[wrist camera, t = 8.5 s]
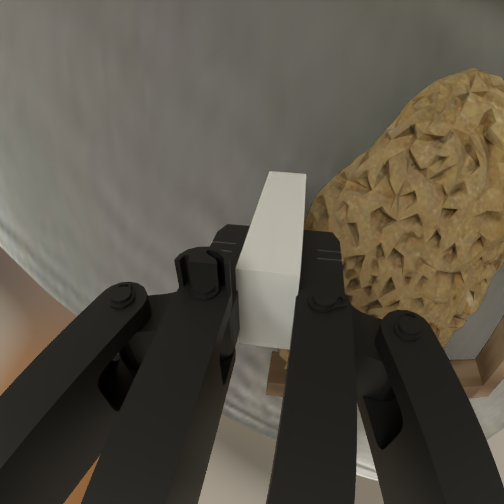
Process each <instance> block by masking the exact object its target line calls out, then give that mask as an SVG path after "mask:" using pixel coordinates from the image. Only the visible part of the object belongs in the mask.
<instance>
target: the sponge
mask: <svg viewBox="0 0 504 504" xmlns="http://www.w3.org/2000/svg"><path fill="white" fill-rule="evenodd" d="M303 230H313V231H324V232H333V233H334V235H335V236H336V237H337V238H338V240H339V241H340V248H341V257H342V267H343V277H344V288H345V294H346V295H347V296H348V297H349V300H350V303H351V304H352V305H353V307H355V308H356V309H358V310H359V311H361V312H363V313H365V314H367V315H370V316H373V317H376V318H379V319H383V317H384V316H386V315H387V314H388V313H389V312H392V311H395V310H408V311H411V312H415V313H417V314H418V315H420V316H421V317H423V318H424V319H425V320H426V321H427V322H428V323H429V325H430V326H431V328H432V329H433V331H434V333H435V335H436V337H437V338H438V340H439V342H440V344H441V346H442V348H443V347H444V346H445V345H446V344H447V342H448V341H449V339H450V338H451V336H452V334H453V333H454V332H455V331H456V330H457V329H459V328H462V326H463V325H464V324H465V322H466V321H467V320H464V319H465V318H466V317H467V316H468V315H470V314H472V313H473V312H475V311H477V309H478V308H479V306H480V304H481V303H482V301H483V299H484V296H485V292H486V290H487V288H488V286H489V284H490V281H491V279H492V277H493V276H494V275H495V273H496V272H497V271H498V269H499V268H500V267H501V266H502V265H503V263H504V80H503V79H502V78H501V77H499V76H495V75H492V74H487V73H485V72H482V71H480V70H477V69H475V68H471V69H468V70H465V71H462V72H459V73H455V74H452V75H449V76H447V77H444V78H441V79H438V80H436V81H435V82H433V83H432V84H430V85H429V86H428V87H426V88H425V89H423V90H422V91H421V92H420V93H419V94H418V95H416V96H415V97H414V98H413V99H412V100H409V101H408V102H407V104H406V105H405V107H404V108H403V109H402V111H401V112H400V114H399V116H398V117H397V118H396V119H395V121H394V122H393V123H392V124H391V125H390V126H389V127H388V128H387V129H386V130H385V132H384V133H383V134H382V135H381V136H380V137H379V138H378V139H377V141H376V142H375V143H374V144H373V145H372V146H371V147H370V149H369V150H367V151H366V152H364V153H363V154H362V155H360V156H359V157H357V158H356V159H355V160H354V161H353V162H352V163H351V164H350V165H349V166H347V167H346V168H344V169H342V170H341V171H340V172H339V173H338V174H337V175H336V176H335V177H334V178H332V179H331V180H330V181H329V182H328V183H327V184H326V185H325V186H324V187H323V188H322V189H321V190H320V192H319V193H318V195H317V196H316V197H315V199H314V200H313V203H312V205H311V208H310V210H309V213H308V215H307V218H306V220H305V222H304V227H303ZM278 349H279V355H280V356H281V357H282V358H283V359H284V360H285V361H286V363H287V364H286V366H285V368H284V369H287V365H288V357H289V349H280V348H278Z"/></svg>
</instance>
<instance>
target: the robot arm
mask: <svg viewBox="0 0 504 504" xmlns="http://www.w3.org/2000/svg"><path fill="white" fill-rule="evenodd" d="M305 190H306V174H300V173H287V172H273V171H269V174H268V177H267V180H266V183H265V185H264V188H263V191H262V194H261V197H260V200H259V202H258V205H257V208H256V211H255V214H254V217H253V220H252V222H251V225H250V226H243V225H230V224H227V225H226V226H224V227H223V228H222V229H220V230H219V231H218V232H217V234H216V236H215V238H214V240H213V242H212V244H211V246H210V247H196V248H192V249H188V250H186V251H184V252H183V253H181V254H179V255H178V256H177V258H176V259H175V266H176V272H177V277H178V283H179V288H178V290H177V292H174V293H169V294H161V295H151V296H148V295H147V292H146V290H145V288H144V287H143V286H141V285H140V284H138V283H133V282H122V283H118V284H115V285H113V286H111V287H109V288H108V289H106V290H105V291H104V292H103V293H102V294H100V295H99V296H98V297H97V298H96V299H95V300H94V301H93V302H92V303H91V304H90V305H89V306H88V307H87V308H86V309H85V310H84V311H82V312H81V313H80V314H79V315H78V316H77V317H76V318H75V319H74V320H73V321H72V322H71V323H70V324H69V325H68V326H67V327H66V328H65V329H64V330H63V331H62V332H61V333H60V334H59V335H58V336H57V337H56V338H55V339H54V340H53V341H52V342H51V343H50V344H49V345H48V346H47V347H46V348H45V349H44V350H43V351H42V352H41V353H40V354H39V355H38V356H37V357H36V358H35V359H34V360H33V361H32V363H30V365H29V366H28V367H27V368H26V369H25V370H24V371H23V372H22V373H21V374H20V375H19V376H18V377H17V378H16V379H15V381H14V382H13V383H12V384H11V385H10V386H9V387H8V388H7V389H6V390H5V392H4V393H3V394H2V395H1V396H0V504H63V503H64V502H65V501H66V499H67V498H68V497H69V495H70V494H71V492H72V491H73V490H74V489H75V487H76V486H77V485H78V483H79V482H80V480H81V479H82V478H83V477H84V475H85V474H86V473H87V471H88V470H89V469H90V467H91V466H92V465H93V463H94V462H95V461H96V460H97V458H98V457H99V456H100V457H99V460H98V462H97V465H96V467H95V470H94V472H93V474H92V477H91V480H90V482H89V485H88V487H87V490H86V492H85V495H84V497H83V500H82V502H81V504H198V500H199V496H200V493H201V489H202V485H203V482H204V478H205V474H206V470H207V467H208V463H209V459H210V455H211V451H212V447H213V444H214V440H215V436H216V432H217V429H218V425H219V421H220V417H221V413H222V409H223V406H224V402H225V398H226V394H227V390H228V386H229V382H230V378H231V375H232V371H233V367H234V363H235V345H236V341H237V338H238V335H239V344H246V345H254V346H262V347H271V348H280V349H289V357H288V365H287V371H286V378H285V387H284V395H283V402H282V409H281V416H280V423H279V429H278V436H277V442H276V449H275V455H274V461H273V468H272V473H271V479H270V485H269V490H268V495H267V501H266V504H354V500H355V482H356V454H357V404H358V407H359V411H360V414H361V417H362V421H363V424H364V428H365V431H366V435H367V439H368V442H369V446H370V450H371V453H372V457H373V461H374V465H375V468H376V472H377V476H378V480H379V484H380V488H381V492H382V496H383V500H384V504H504V487H503V484H502V481H501V478H500V475H499V472H498V470H497V467H496V464H495V461H494V458H493V456H492V453H491V451H490V448H489V446H488V443H487V440H486V438H485V436H484V433H483V431H482V428H481V426H480V424H479V421H478V419H477V417H476V415H475V412H474V410H473V408H472V406H471V404H470V401H469V399H468V397H467V395H466V393H465V391H464V389H463V387H462V385H461V382H460V380H459V378H458V376H457V374H456V372H455V370H454V369H453V367H452V365H451V363H450V361H449V359H448V357H447V355H446V353H445V351H444V349H443V348H442V346H441V344H440V342H439V340H438V338H437V337H436V335H435V333H434V331H433V329H432V328H431V326H430V325H429V323H428V322H427V321H426V320H425V319H424V318H423V317H421V316H420V315H418V314H417V313H415V312H411V311H408V310H395V311H392V312H389V313H388V314H387V315H386V316H384V317H383V319H379V318H376V317H373V316H370V315H367V314H365V313H363V312H361V311H359V310H358V309H356V308H355V307H353V305H352V304H351V303H350V300H349V297H348V296H347V295H346V294H345V288H344V277H343V267H342V257H341V248H340V241H339V240H338V238H337V237H336V236H335V235H334V233H333V232H324V231H313V230H303V227H304V210H305ZM100 454H101V455H100Z"/></svg>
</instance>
